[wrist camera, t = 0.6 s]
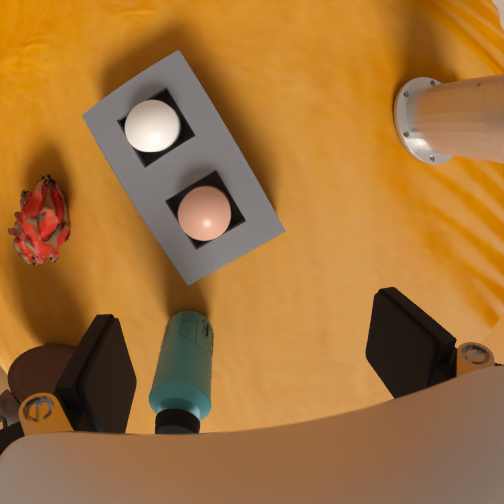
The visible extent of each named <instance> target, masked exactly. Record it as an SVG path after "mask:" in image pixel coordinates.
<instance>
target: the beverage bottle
mask: <svg viewBox="0 0 504 504" xmlns="http://www.w3.org/2000/svg"><path fill="white" fill-rule="evenodd" d="M166 326H167V327H165V328H166V332H165V331H164V332H165V335H163V336H164V339H163V338H162V339H163V340H162V341H163V343H162V347H161V351H160V355H159V359H158V364H157V368H156V372H155V376H154V380H153V384H152V389H151V391H150V394H149V403H150V406H151V407H152V409H153V410H154V412H155V413H156V414H157V416H156V420H155V434H194V433H199V430H200V420H202V419H204V418H205V417H206V416H207V415H208V414H209V412H210V410H211V387H212V386H211V378H212V377H211V370H212V355H213V354H212V353H213V348H212V347H213V346H212V345H213V340H214V335H213V337H212V330H213V329H212V328H213V327H211V323H209V321H208V320H207V318H206V317H204V316H203V315H202V314H200V313H197V312H194V311H182V312H179V313H177V314H175V315H174V316H173V317H172V318H171V319H170V320H169V322H168V324H166ZM213 332H214V331H213Z"/></svg>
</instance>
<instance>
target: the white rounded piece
mask: <svg viewBox="0 0 504 504" xmlns="http://www.w3.org/2000/svg"><path fill="white" fill-rule="evenodd" d="M181 133H182V121H181V118H180V116H179V115H178V113H177V112H176V111H175V110H174V109H172V108H171V107H170V106H168V105H167V104H166V103H164V102H162V101H158V100H147V101H144V102H141V103H140V104H138V105H136V106H135V107H134V108H133V109H132V110H131V111H130V113H129V115H128V117H127V119H126V122H125V134H126V137H127V139H128V141H129V143H130V144H131V145H132V146H133V147H134V148H136V149H138V150H140V151H144V152H159V151H164V150H167V149H169V148H171V147H172V146H173V145H175V144H176V142H177V141H178V140H179V138H180V136H181Z"/></svg>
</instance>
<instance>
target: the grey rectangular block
mask: <svg viewBox="0 0 504 504" xmlns="http://www.w3.org/2000/svg"><path fill="white" fill-rule="evenodd" d="M147 100H158V101H162V102H164V103H166V104H167V105H168V106H170V107H171V108H172V109H174V110H175V111H176V112H177V113H178V115H179V116H180V118H181V121H182V133H181V136H180V138H179V140H178V141H177V142H176V144H175V145H173V146H172V147H171V148H169V149H167V150H164V151H159V152H144V151H140V150H138V149H136V148H134V147H133V146H132V145H131V144H130V143H129V141H128V139H127V137H126V134H125V122H126V119H127V117H128V115H129V113H130V111H131V110H132V109H133V108H134V107H135V106H136V105H138V104H140V103H141V102H144V101H147ZM82 117H83V118H84V120H85V122H86V124H87V126H88V128H89V129H90V131H91V133H92V135H93V137H94V138H95V140H96V142H97V144H98V145H99V147H100V149H101V151H102V152H103V154H104V156H105V158H106V159H107V161H108V163H109V165H110V166H111V168H112V170H113V171H114V173H115V175H116V176H117V178H118V180H119V181H120V183H121V185H122V186H123V188H124V190H125V191H126V193H127V194H128V196H129V198H130V199H131V201H132V203H133V204H134V206H135V207H136V209H137V211H138V212H139V214H140V215H141V217H142V218H143V220H144V221H145V223H146V225H147V226H148V228H149V229H150V231H151V232H152V234H153V235H154V237H155V238H156V240H157V241H158V243H159V244H160V246H161V247H162V249H163V250H164V252H165V253H166V255H167V256H168V258H169V259H170V261H171V262H172V264H173V265H174V267H175V268H176V270H177V271H178V272H179V274H180V275H181V277H182V278H183V280H184V281H185V282H186V284H187V285H188V286H189V285H191V284H193V283H194V282H196V281H198V280H200V279H202V278H203V277H205V276H207V275H209V274H210V273H212V272H214V271H216V270H218V269H219V268H221V267H223V266H225V265H227V264H228V263H230V262H232V261H234V260H235V259H237V258H239V257H241V256H243V255H244V254H246V253H248V252H250V251H252V250H253V249H255V248H257V247H259V246H260V245H262V244H264V243H266V242H268V241H269V240H271V239H273V238H275V237H277V236H278V235H280V234H282V233H284V232H285V229H284V227H283V225H282V223H281V222H280V220H279V218H278V216H277V214H276V213H275V211H274V209H273V207H272V205H271V203H270V202H269V200H268V198H267V196H266V195H265V193H264V191H263V189H262V187H261V186H260V184H259V182H258V180H257V179H256V177H255V175H254V173H253V172H252V170H251V168H250V166H249V165H248V163H247V161H246V159H245V158H244V156H243V154H242V152H241V151H240V149H239V147H238V146H237V144H236V142H235V140H234V139H233V137H232V135H231V134H230V132H229V130H228V129H227V127H226V125H225V123H224V122H223V120H222V118H221V117H220V115H219V113H218V112H217V110H216V108H215V107H214V105H213V103H212V102H211V100H210V99H209V97H208V95H207V94H206V92H205V90H204V89H203V87H202V85H201V84H200V82H199V81H198V79H197V77H196V76H195V74H194V73H193V71H192V69H191V68H190V66H189V65H188V63H187V61H186V60H185V58H184V57H183V55H182V54H181V52H180V50H177V51H176V52H174V53H172V54H170V55H169V56H167V57H165V58H163V59H162V60H160V61H158V62H157V63H155V64H153V65H152V66H150V67H149V68H147V69H145V70H144V71H142V72H141V73H139V74H138V75H136V76H135V77H133V78H132V79H130V80H129V81H127V82H126V83H124V84H123V85H121V86H120V87H119V88H117V89H116V90H114V91H113V92H112V93H110V94H109V95H108V96H106V97H105V98H104V99H102V100H101V101H100V102H98V103H97V104H96V105H94V106H93V107H92V108H91V109H89V110H88V111H87V112H86V113H84V114H83V115H82ZM202 184H211V185H215V186H217V187H219V188H221V189H222V190H223V191H224V192H225V193H226V195H227V197H228V199H229V202H230V211H231V219H230V223H229V225H228V227H227V229H226V230H225V232H224V233H223V234H221V235H220V236H219V237H217V238H215V239H212V240H207V241H201V240H197V239H194V238H192V237H190V236H189V235H187V234H186V233H185V232H184V231H183V229H182V228H181V226H180V223H179V220H178V209H179V206H180V204H181V202H182V200H183V199H184V198H185V196H186V195H187V194H188V193H189V192H190V191H191V190H192V189H193V188H194V187H196V186H199V185H202Z"/></svg>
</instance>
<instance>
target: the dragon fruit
mask: <svg viewBox="0 0 504 504" xmlns="http://www.w3.org/2000/svg"><path fill="white" fill-rule="evenodd" d="M47 177H48V179H49V181H48V182H47V179H44V178H45V176H43V177H42V178H41V179H40V180H39V181H38V182H37V184H36V186H35V189H34V192H28V191H26V192H25V191H24V190H23V191H22V192H21V197H22V198H21V200H20V204H21V212H15V214H14V215H15V217H16V219H17V221H16V222H15V224H14V228H12V229H9V230H8V232H9V234H10V235H14V236H16V237H15V239H14V241H13V246H14V248H15V250H16V251H18V254H19V255H20V256H21V257H22V260H24V262H25V263H27V264H34V265H38V264H43V263H44V258H48V257H51V258H50V261H52V262H55V261H56V260H57V259H58V258H59V255H58V254H59V253H58V247H59V246H60V245H61V244H63V243H64V242H66V241H67V240H68V238H69V236H70V225H69V213H68V205H67V200H66V198H65V194H64V193H63V192H61V191H60V189H59V186H58V184H57V183H56V182H55V180H53V179H51V176H50V175H49V174H48V175H47ZM25 195H26V203H25V204H24V201H25ZM33 261H35V262H36V263H33Z"/></svg>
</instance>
